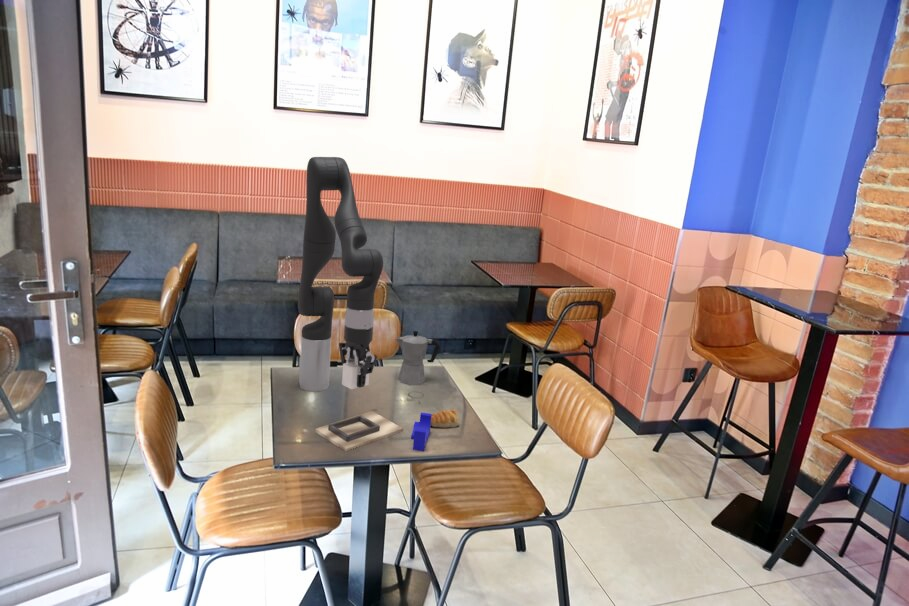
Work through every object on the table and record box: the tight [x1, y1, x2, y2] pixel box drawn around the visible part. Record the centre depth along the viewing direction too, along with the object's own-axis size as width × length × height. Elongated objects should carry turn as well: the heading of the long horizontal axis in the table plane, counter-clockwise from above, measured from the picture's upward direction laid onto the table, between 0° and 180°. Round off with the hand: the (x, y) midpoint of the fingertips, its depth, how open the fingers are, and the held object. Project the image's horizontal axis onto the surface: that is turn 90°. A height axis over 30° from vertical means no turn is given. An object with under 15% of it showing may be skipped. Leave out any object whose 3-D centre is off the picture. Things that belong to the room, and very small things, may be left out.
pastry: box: [431, 409, 460, 429], centre depth 184 cm, size 9×7×4 cm
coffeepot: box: [395, 330, 441, 386], centre depth 213 cm, size 15×9×18 cm, turn 87°
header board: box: [314, 410, 404, 452], centre depth 175 cm, size 14×20×2 cm
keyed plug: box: [341, 361, 371, 390], centre depth 170 cm, size 4×7×6 cm, turn 136°
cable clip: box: [410, 412, 433, 452], centre depth 173 cm, size 12×4×6 cm, turn 174°
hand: (355, 383), depth 170 cm, fingers closed on keyed plug, 4 cm apart
